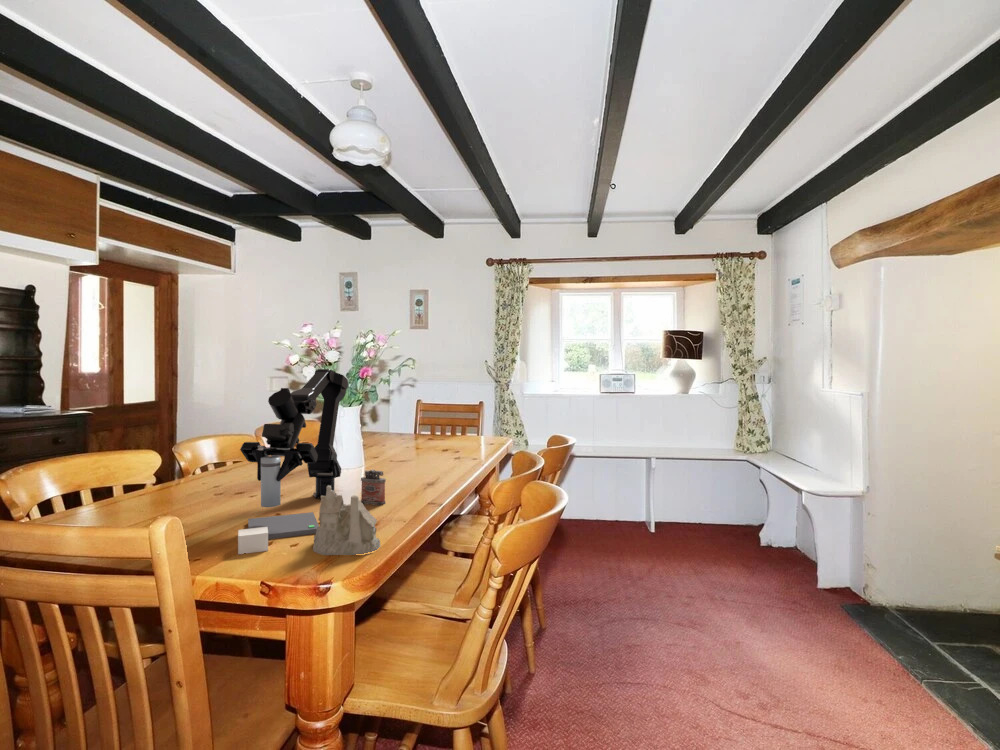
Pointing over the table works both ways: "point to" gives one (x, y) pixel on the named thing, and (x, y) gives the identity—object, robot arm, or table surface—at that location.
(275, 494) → the grey cylinder
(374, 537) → the stone castle ruin
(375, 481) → the lighter
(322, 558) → the table surface
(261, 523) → the charging mat
